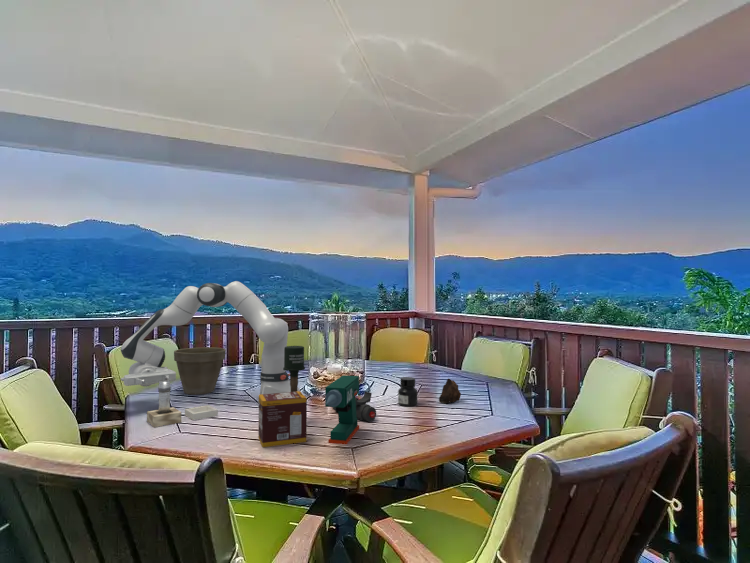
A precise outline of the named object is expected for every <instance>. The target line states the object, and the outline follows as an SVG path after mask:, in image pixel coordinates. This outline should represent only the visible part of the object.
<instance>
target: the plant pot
mask: <svg viewBox="0 0 750 563" xmlns="http://www.w3.org/2000/svg"><path fill="white" fill-rule="evenodd" d="M226 351H227V350H226V348H223V347H222V348H221V347H210V346H209V347H207V346H206V347H204V346H203V347H189V348H180V349H176V350H174V351H173V358H174V361H175V363H176V367H177V370H178V375H179V379H180V383H181V387H182V391H183V392H184V394H186V395H207V394H211V393H213V392H214V391H215V389H216V386H217V384H218V379H219V377H220V373H221V369H222V366H223V362H224V360H225V359H226Z"/></svg>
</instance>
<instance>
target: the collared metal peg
mask: <svg viewBox="0 0 750 563" xmlns="http://www.w3.org/2000/svg"><path fill="white" fill-rule="evenodd" d="M171 388H172V387H171V381H160V382H159V383H158V388H157V390H158V410H159V415H160V414H166V413H170V408H171Z"/></svg>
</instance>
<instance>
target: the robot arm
mask: <svg viewBox="0 0 750 563" xmlns="http://www.w3.org/2000/svg"><path fill="white" fill-rule="evenodd" d="M227 303H229V304H230V305H231V306H232V307H233V309H235V310H236V312H238V314H240V315H241V316H242V317H243V318H244V319H245V321H246V322H247V323H249V325H250V327H251V328H252V329H253V330H254V332H255V334H256V335H257V337H258V338H259V340H260V341H261V342H263V347H262V351H261V352H262V353H261V368H260V369H261V372H260V377H259V378H260V380H259V381H260V390H259V395H260V394H274V393H286V392H291V386H290V372H289V373H288V371H285V370H283V368H284V348H285V347H286V346H288V334H289V326H288V323H287V322H286V320H284V319H282V318H280V317H279V318H278V317H274V316H273V314H272V313H271V312H270V311H269V309H268V308H267V305H266V304H265V303H264V302H263V301H262V300H261V299H260V298H259V297H258V296H257V295H256V294H255V293H254V292H253V291H252V290H251V289H250V288H248V287H247V286H246V285H245V284H243V283H242V282H240V281H238V280H235V281H232V282H230V283H228V284H227V285H226V286H224V285H221V284H219V283H214V282H207V283H203V284H202V285H200V286H199V287H196V286H194V285H188V286H186V287H185V288H183V290H182V291H180V292H179V294H178V295H177V296H176V297H175V299H174V300H173V301H172V303H171V304H170V305H169V306H167V307H165V308H163V309H158V310H157V311H155V312H154V313H153V314H152V315H151V316H150V317H149V318H148V319H147V320H146V321H145V322H144V323H143V324H142V325H141V326H140V327H139V328H138V329H136V331H135V332H134V333H133V334H132V335H130V336H129V337H128V338H127V339H126V340H125V341H124V342H123V344H122V345H121V346H120V352H121V356H123V358H125V359H128V360H131V361H135V363H132V364H131V365H130V367H129V369H128V374H125V375H123V377H121V378H120V381H122V382H123V385H124V386H126V387H129V386H130V387H131V386H137V385H138V386H141V387H150V386H153V385H155V384H159V382H160V381H170V382H174V381H176V379H177V372H176V371H175V370H172V369H170V368H168V366H163V365H164V362H165V360H166V353H165V349H164V348H163V347H161V346H159V345H156V344H154V343H151V342H149V341H146V340H144V339H145V338H146V337H147V336H149V334H150V333H151V332H153V330H154V329H155V328H157V327H160V326H175V327H178V326H184V325H186V324H188V323H189V322H190V321H191V320H192V318H193V317H194V316H195V315H196V313H197V312H198V310H199V309H200V307H202V306H206V307H209V308H210V307H211V308H220V307H223V306H225V305H227ZM297 391H300V392H301V393H302V391H301V389H300V388H299V387H297ZM257 404H258V405H259V398H258V400H257Z"/></svg>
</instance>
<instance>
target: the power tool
mask: <svg viewBox="0 0 750 563" xmlns="http://www.w3.org/2000/svg"><path fill="white" fill-rule="evenodd" d="M324 388H325V389H324V390H325V396H324V402H325V404H324V406H325V407H326V408H327V407H328V408H332V407H336V411H335V412H337V415H338V416H337V417H338V422H337V424H336V426H334V427H333V428H332V430H331V431H330V438H329V439H328V441H327V443H328V444H333V445H334V444H335V445H346V444H347V445H348V444H349V442H350V441H351V440H352V438H353V437H354V435H356V433H357V432H358V431H359V429H360V425H359V424H358V421H359V419H358V418H357V416H356V399H355V398H356V397H357V396H358V395H359V394H360V375H348V374H347V375H345V374H343V375H341V376H340V377H337V379H336V380H334V381H333V382H331V383H330V384H328V385H326V386H325V387H324Z"/></svg>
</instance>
